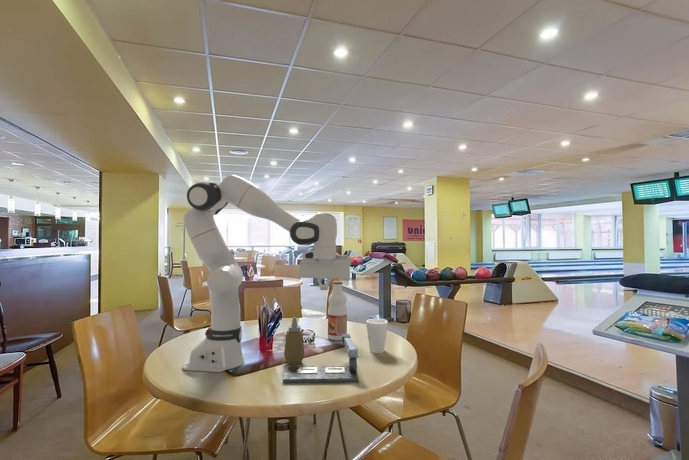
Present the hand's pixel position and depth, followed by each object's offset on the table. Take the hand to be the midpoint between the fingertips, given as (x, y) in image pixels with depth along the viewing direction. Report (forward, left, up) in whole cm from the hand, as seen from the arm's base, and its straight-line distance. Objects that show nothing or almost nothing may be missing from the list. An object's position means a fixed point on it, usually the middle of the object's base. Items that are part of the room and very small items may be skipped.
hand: (323, 289), depth 141 cm
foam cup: (+23, +18, -30) cm, 42 cm away
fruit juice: (+6, +38, -30) cm, 49 cm away
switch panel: (-1, -10, -30) cm, 31 cm away
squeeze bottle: (-12, +4, -30) cm, 32 cm away
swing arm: (+10, 0, -23) cm, 25 cm away
